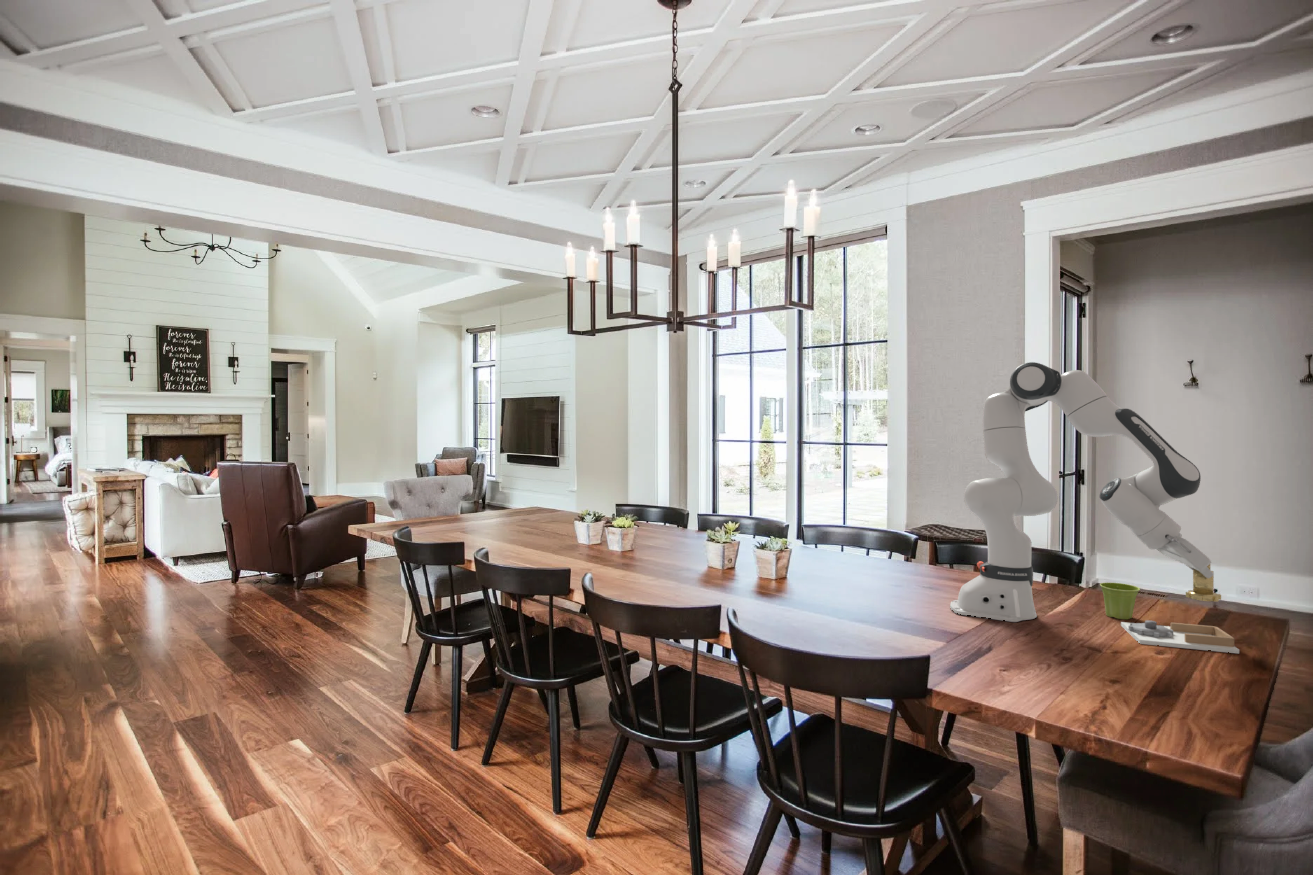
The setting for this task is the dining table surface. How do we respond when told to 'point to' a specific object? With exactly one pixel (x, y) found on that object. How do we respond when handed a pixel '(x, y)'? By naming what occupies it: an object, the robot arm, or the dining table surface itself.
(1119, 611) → the plant pot
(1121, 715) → the dining table surface
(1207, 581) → the brass gear shaft
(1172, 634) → the gear board
